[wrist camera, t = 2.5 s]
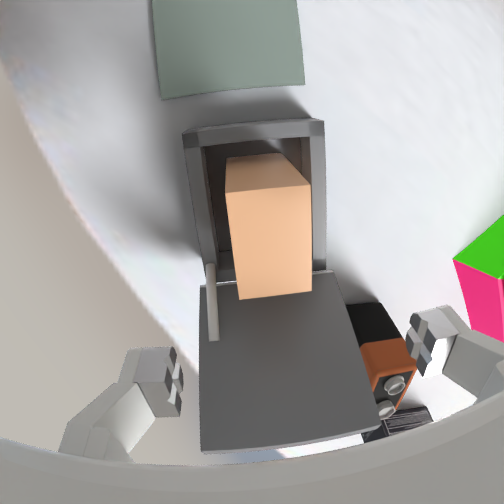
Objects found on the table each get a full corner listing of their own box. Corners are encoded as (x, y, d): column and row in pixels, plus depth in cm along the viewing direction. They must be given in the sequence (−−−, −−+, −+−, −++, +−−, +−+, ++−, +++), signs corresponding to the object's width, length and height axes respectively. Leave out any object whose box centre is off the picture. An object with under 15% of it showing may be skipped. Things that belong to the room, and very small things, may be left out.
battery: (331, 353, 32) (357, 429, 24) (341, 303, 29) (378, 382, 20) (368, 348, 33) (400, 419, 24) (381, 299, 30) (426, 371, 21)
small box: (358, 434, 43) (375, 488, 33) (376, 411, 40) (398, 469, 30) (408, 427, 44) (427, 474, 35) (427, 405, 41) (451, 454, 32)
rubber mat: (152, -20, 15) (150, -22, 15) (289, -34, 16) (291, -37, 15) (163, 99, 20) (161, 99, 20) (303, 85, 20) (305, 84, 20)
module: (226, 158, 23) (225, 193, 15) (280, 152, 23) (310, 184, 15) (235, 232, 25) (239, 299, 17) (285, 227, 25) (311, 290, 17)
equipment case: (181, 130, 21) (104, 186, 8) (318, 117, 21) (444, 157, 8) (210, 304, 28) (204, 458, 15) (321, 291, 28) (378, 432, 15)
